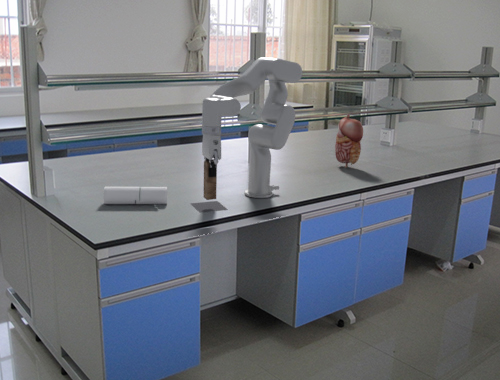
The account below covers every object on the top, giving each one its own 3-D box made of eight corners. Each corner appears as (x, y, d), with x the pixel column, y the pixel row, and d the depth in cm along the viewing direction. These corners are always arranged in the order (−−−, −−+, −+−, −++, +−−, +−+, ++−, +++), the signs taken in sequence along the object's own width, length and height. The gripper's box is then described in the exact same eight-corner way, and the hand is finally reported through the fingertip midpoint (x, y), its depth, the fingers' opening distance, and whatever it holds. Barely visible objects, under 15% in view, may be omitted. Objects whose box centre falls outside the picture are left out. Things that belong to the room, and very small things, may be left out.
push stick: (212, 196, 215) (213, 160, 210) (216, 199, 211) (216, 162, 207) (203, 197, 213) (203, 161, 209) (206, 200, 209) (207, 163, 205)
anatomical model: (345, 163, 302) (350, 111, 293) (364, 170, 289) (370, 116, 280) (328, 165, 296) (333, 112, 287) (347, 172, 283) (352, 116, 274)
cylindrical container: (167, 195, 221) (106, 195, 217) (167, 183, 216) (105, 182, 212) (167, 207, 216) (104, 207, 213) (166, 195, 211) (103, 195, 207)
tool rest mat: (217, 202, 222) (217, 200, 222) (227, 211, 212) (227, 209, 211) (190, 204, 217) (190, 203, 217) (199, 213, 207) (199, 212, 206)
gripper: (228, 133, 198) (226, 180, 204) (212, 126, 213) (211, 169, 218) (210, 134, 195) (208, 181, 200) (195, 126, 210) (194, 170, 215)
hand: (210, 174), depth 209 cm, fingers closed on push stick, 4 cm apart
